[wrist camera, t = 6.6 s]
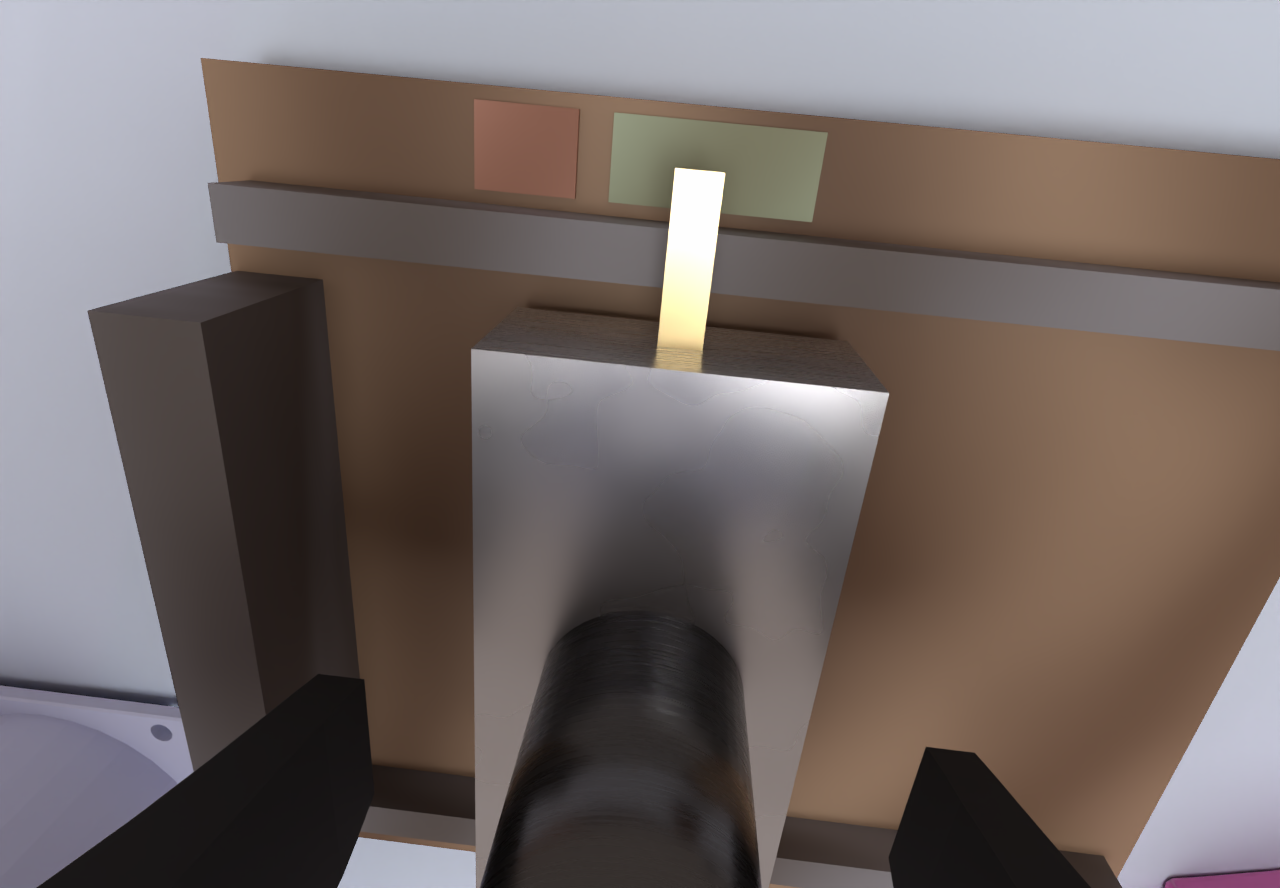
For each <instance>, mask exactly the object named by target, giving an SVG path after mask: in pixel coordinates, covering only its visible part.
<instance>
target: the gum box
mask: <svg viewBox="0 0 1280 888" xmlns="http://www.w3.org/2000/svg"><path fill="white" fill-rule="evenodd" d="M1165 888H1280V869H1279V870H1271V871H1263V872H1251V873H1238V874H1226V875H1213V876H1201V877H1186V878H1172V879H1170V880H1168V881H1167V882H1166V885H1165Z"/></svg>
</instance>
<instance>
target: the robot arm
mask: <svg viewBox="0 0 1280 888" xmlns="http://www.w3.org/2000/svg"><path fill="white" fill-rule="evenodd" d="M373 796H374V782H373V771H372V759H371V748H370V737H369V726H368V715H367V703H366V692H365V681H364V679H357V678H349V677H341V676H332V675H324V674H317V675H316V676H315V677H314V678H312V679H311V680H310V681H308V682H307V683H306V684H304V685H303V686H302V687H301V688H299V689H298V690H297V691H295V692H294V693H293V694H291V695H290V696H289V697H288V698H286V699H285V700H284V701H283V702H281V703H280V704H279V705H278V706H276V707H275V708H274V709H273V710H271V711H270V712H269V713H268V714H266V715H265V716H264V717H263V718H261V719H260V720H259V721H258V722H256V723H255V724H254V725H253V726H251V727H250V728H249V729H248V730H246V731H245V732H244V733H242V734H241V735H240V736H239V737H237V738H236V739H235V740H234V741H232V742H231V743H230V744H229V745H227V746H226V747H225V748H224V749H222V750H221V751H220V752H218V753H217V754H216V755H215V756H213V757H212V758H211V759H210V760H208V761H207V762H206V763H204V764H203V765H202V766H201V767H199V768H198V769H197V770H195V771H193V767H192V762H191V758H190V753H189V749H188V745H187V740H186V736H185V732H184V727H183V723H182V719H181V714H180V710H179V707H172V706H163V705H155V704H147V703H139V702H131V701H123V700H115V699H107V698H99V697H90V696H82V695H74V694H66V693H58V692H50V691H42V690H34V689H25V688H17V687H9V686H1V685H0V888H337V887H338V885H339V883H340V881H341V879H342V876H343V874H344V871H345V869H346V866H347V864H348V861H349V859H350V856H351V854H352V851H353V849H354V846H355V844H356V841H357V839H358V836H359V834H360V831H361V828H362V826H363V823H364V820H365V817H366V815H367V812H368V809H369V807H370V804H371V801H372V799H373ZM888 858H889V864H890V870H891V876H892V883H893V888H1091V887H1090V886H1089V885H1088V883H1087V882H1086V881H1085V880H1084V879H1083V878H1082V877H1081V875H1080V874H1079V873H1078V872H1077V871H1076V870H1075V869H1074V867H1073V866H1072V865H1071V864H1070V863H1069V862H1068V860H1067V859H1066V858H1065V857H1064V856H1063V855H1062V853H1061V852H1060V851H1059V850H1058V849H1057V848H1056V846H1055V845H1054V844H1053V843H1052V842H1051V841H1050V839H1049V838H1048V837H1047V836H1046V835H1045V834H1044V833H1043V831H1042V830H1041V829H1040V828H1039V827H1038V826H1037V824H1036V823H1035V822H1034V821H1033V820H1032V818H1031V817H1030V816H1029V815H1028V814H1027V813H1026V811H1025V810H1024V809H1023V808H1022V807H1021V806H1020V804H1019V803H1018V802H1017V801H1016V800H1015V798H1014V797H1013V796H1012V795H1011V794H1010V793H1009V791H1008V790H1007V789H1006V788H1005V787H1004V786H1003V784H1002V783H1001V782H1000V781H999V780H998V779H997V777H996V776H995V775H994V774H993V773H992V772H991V770H990V769H989V768H988V767H987V766H986V765H985V764H984V762H983V761H982V760H981V759H980V758H979V757H978V756H977V755H976V753H974V752H965V751H957V750H949V749H940V748H932V747H926V748H925V751H924V754H923V757H922V760H921V763H920V766H919V768H918V771H917V774H916V777H915V780H914V783H913V786H912V789H911V792H910V795H909V798H908V801H907V804H906V807H905V810H904V813H903V816H902V819H901V822H900V825H899V828H898V831H897V834H896V837H895V839H894V842H893V845H892V848H891V851H890V854H889V857H888Z"/></svg>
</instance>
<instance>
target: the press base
mask: <svg viewBox="0 0 1280 888" xmlns="http://www.w3.org/2000/svg"><path fill="white" fill-rule="evenodd" d="M201 63H202V70H203V77H204V84H205V91H206V98H207V105H208V112H209V118H210V125H211V132H212V139H213V146H214V153H215V160H216V167H217V174H218V181H219V182H218V183H208V188H209V195H210V202H211V208H212V215H213V222H214V228H215V235H216V242H218V243H227V244H228V250H229V257H230V264H231V271H232V272H230V273H227V274H223V275H219V276H215V277H212V278H208V279H204V280H201V281H197V282H193V283H189V284H186V285H182V286H178V287H174V288H171V289H167V290H163V291H159V292H156V293H152V294H148V295H145V296H141V297H137V298H133V299H130V300H126V301H122V302H118V303H115V304H111V305H107V306H103V307H100V308H96V309H92V310H89V311H88V315H89V319H90V324H91V328H92V332H93V337H94V341H95V345H96V350H97V354H98V358H99V363H100V367H101V371H102V376H103V380H104V384H105V389H106V393H107V397H108V402H109V406H110V410H111V415H112V419H113V423H114V428H115V432H116V436H117V441H118V445H119V449H120V454H121V458H122V462H123V467H124V471H125V476H126V480H127V484H128V489H129V493H130V497H131V502H132V506H133V510H134V515H135V519H136V523H137V528H138V532H139V536H140V541H141V545H142V549H143V554H144V558H145V562H146V567H147V571H148V575H149V580H150V584H151V588H152V593H153V597H154V601H155V606H156V610H157V614H158V619H159V623H160V628H161V632H162V636H163V641H164V645H165V649H166V654H167V658H168V662H169V667H170V671H171V675H172V680H173V684H174V688H175V693H176V697H177V701H178V706H179V710H180V714H181V719H182V723H183V727H184V732H185V736H186V740H187V745H188V749H189V753H190V758H191V762H192V767H193V771H195V770H197V769H198V768H199V767H201V766H202V765H203V764H204V763H206V762H207V761H208V760H210V759H211V758H212V757H213V756H215V755H216V754H217V753H218V752H220V751H221V750H222V749H224V748H225V747H226V746H227V745H229V744H230V743H231V742H232V741H234V740H235V739H236V738H237V737H239V736H240V735H241V734H242V733H244V732H245V731H246V730H248V729H249V728H250V727H251V726H253V725H254V724H255V723H256V722H258V721H259V720H260V719H261V718H263V717H264V716H265V715H266V714H268V713H269V712H270V711H271V710H273V709H274V708H275V707H276V706H278V705H279V704H280V703H281V702H283V701H284V700H285V699H286V698H288V697H289V696H290V695H291V694H293V693H294V692H295V691H297V690H298V689H299V688H301V687H302V686H303V685H304V684H306V683H307V682H308V681H310V680H311V679H312V678H314V677H315V676H316V675H317V674H324V675H332V676H341V677H349V678H357V679H364V681H365V692H366V703H367V715H368V726H369V737H370V748H371V759H372V771H373V782H374V796H373V799H372V801H371V804H370V807H369V809H368V812H367V815H366V817H365V820H364V823H363V826H362V828H361V831H360V834H359V836H358V837H363V838H371V839H379V840H386V841H394V842H402V843H410V844H418V845H426V846H433V847H441V848H449V849H457V850H465V851H472V852H476V825H475V715H474V605H473V495H472V385H471V349H472V348H473V347H474V346H475V345H476V344H477V343H478V342H479V341H480V340H482V339H483V338H484V337H485V336H486V335H487V334H488V333H489V332H490V331H492V330H493V329H494V328H495V327H496V326H497V325H498V324H499V323H500V322H502V321H503V320H504V319H505V318H506V317H507V316H508V315H509V314H510V313H511V312H513V311H514V310H515V309H516V308H517V307H523V308H533V309H542V310H552V311H561V312H571V313H581V314H590V315H600V316H610V317H619V318H629V319H639V320H648V321H658V322H660V314H661V304H662V294H663V284H664V275H665V265H666V255H667V245H668V235H669V225H670V215H671V205H672V195H673V185H674V175H675V168H676V167H679V168H689V169H699V170H710V171H720V172H725V178H724V186H723V194H722V202H721V209H720V217H719V225H718V233H717V241H716V249H715V256H714V264H713V272H712V280H711V288H710V296H709V303H708V311H707V319H706V327H716V328H725V329H735V330H745V331H754V332H764V333H774V334H783V335H793V336H803V337H812V338H822V339H832V340H841V341H848V342H849V343H850V345H851V346H852V347H853V348H854V350H855V351H856V352H857V353H858V355H859V356H860V357H861V358H862V360H863V361H864V362H865V363H866V365H867V366H868V367H869V368H870V370H871V371H872V372H873V373H874V375H875V376H876V377H877V378H878V380H879V381H880V382H881V383H882V385H883V386H884V387H885V388H886V389H887V391H888V392H889V397H888V401H887V405H886V409H885V413H884V417H883V421H882V425H881V429H880V433H879V438H878V442H877V446H876V450H875V454H874V458H873V462H872V466H871V470H870V474H869V479H868V483H867V487H866V491H865V495H864V499H863V503H862V507H861V511H860V515H859V520H858V524H857V528H856V532H855V536H854V540H853V544H852V548H851V552H850V556H849V561H848V565H847V569H846V573H845V577H844V581H843V585H842V589H841V593H840V597H839V601H838V606H837V610H836V614H835V618H834V622H833V626H832V630H831V634H830V638H829V642H828V647H827V651H826V655H825V659H824V663H823V667H822V671H821V675H820V679H819V683H818V688H817V692H816V696H815V700H814V704H813V708H812V712H811V716H810V720H809V724H808V729H807V733H806V737H805V741H804V745H803V749H802V753H801V757H800V761H799V765H798V770H797V774H796V778H795V782H794V786H793V790H792V794H791V798H790V802H789V806H788V810H787V815H786V819H785V823H784V827H783V831H782V835H781V839H780V843H779V847H778V851H777V856H776V860H775V864H774V868H773V872H772V876H771V880H770V884H769V888H893V883H892V876H891V870H890V864H889V858H888V857H889V854H890V851H891V848H892V845H893V842H894V839H895V837H896V834H897V831H898V828H899V825H900V822H901V819H902V816H903V813H904V810H905V807H906V804H907V801H908V798H909V795H910V792H911V789H912V786H913V783H914V780H915V777H916V774H917V771H918V768H919V766H920V763H921V760H922V757H923V754H924V751H925V748H926V747H932V748H940V749H949V750H957V751H965V752H974V753H976V755H977V756H978V757H979V758H980V759H981V760H982V761H983V762H984V764H985V765H986V766H987V767H988V768H989V769H990V770H991V772H992V773H993V774H994V775H995V776H996V777H997V779H998V780H999V781H1000V782H1001V783H1002V784H1003V786H1004V787H1005V788H1006V789H1007V790H1008V791H1009V793H1010V794H1011V795H1012V796H1013V797H1014V798H1015V800H1016V801H1017V802H1018V803H1019V804H1020V806H1021V807H1022V808H1023V809H1024V810H1025V811H1026V813H1027V814H1028V815H1029V816H1030V817H1031V818H1032V820H1033V821H1034V822H1035V823H1036V824H1037V826H1038V827H1039V828H1040V829H1041V830H1042V831H1043V833H1044V834H1045V835H1046V836H1047V837H1048V838H1049V839H1050V841H1051V842H1052V843H1053V844H1054V845H1055V846H1056V848H1057V849H1058V850H1059V851H1060V852H1061V853H1062V855H1063V856H1064V857H1065V858H1066V859H1067V860H1068V862H1069V863H1070V864H1071V865H1072V866H1073V867H1074V869H1075V870H1076V871H1077V872H1078V873H1079V874H1080V875H1081V877H1082V878H1083V879H1084V880H1085V881H1086V882H1087V883H1088V885H1089V886H1090V887H1091V888H1122V887H1121V885H1120V883H1119V881H1118V880H1117V877H1118V875H1119V873H1120V871H1121V870H1122V868H1123V866H1124V864H1125V862H1126V860H1127V859H1128V857H1129V855H1130V853H1131V851H1132V849H1133V847H1134V846H1135V844H1136V842H1137V840H1138V838H1139V836H1140V834H1141V833H1142V831H1143V829H1144V827H1145V825H1146V823H1147V822H1148V820H1149V818H1150V816H1151V814H1152V812H1153V810H1154V809H1155V807H1156V805H1157V803H1158V801H1159V799H1160V798H1161V796H1162V794H1163V792H1164V790H1165V788H1166V786H1167V785H1168V783H1169V781H1170V779H1171V777H1172V775H1173V773H1174V772H1175V770H1176V768H1177V766H1178V764H1179V762H1180V761H1181V759H1182V757H1183V755H1184V753H1185V751H1186V749H1187V748H1188V746H1189V744H1190V742H1191V740H1192V738H1193V736H1194V735H1195V733H1196V731H1197V729H1198V727H1199V725H1200V724H1201V722H1202V720H1203V718H1204V716H1205V714H1206V712H1207V711H1208V709H1209V707H1210V705H1211V703H1212V701H1213V700H1214V698H1215V696H1216V694H1217V692H1218V690H1219V688H1220V687H1221V685H1222V683H1223V681H1224V679H1225V677H1226V675H1227V674H1228V672H1229V670H1230V668H1231V666H1232V664H1233V663H1234V661H1235V659H1236V657H1237V655H1238V653H1239V651H1240V650H1241V648H1242V646H1243V644H1244V642H1245V640H1246V638H1247V637H1248V635H1249V633H1250V631H1251V629H1252V627H1253V626H1254V624H1255V622H1256V620H1257V618H1258V616H1259V614H1260V613H1261V611H1262V609H1263V607H1264V605H1265V603H1266V602H1267V600H1268V598H1269V596H1270V594H1271V592H1272V590H1273V589H1274V587H1275V585H1276V583H1277V581H1278V579H1279V577H1280V159H1270V158H1259V157H1249V156H1238V155H1227V154H1217V153H1206V152H1195V151H1185V150H1174V149H1164V148H1153V147H1142V146H1132V145H1121V144H1110V143H1100V142H1089V141H1078V140H1068V139H1057V138H1046V137H1036V136H1025V135H1015V134H1004V133H993V132H983V131H972V130H961V129H951V128H940V127H929V126H919V125H908V124H897V123H887V122H876V121H866V120H855V119H844V118H834V117H823V116H812V115H802V114H791V113H780V112H770V111H759V110H748V109H738V108H727V107H717V106H706V105H695V104H685V103H674V102H663V101H653V100H642V99H631V98H621V97H610V96H600V95H589V94H578V93H568V92H557V91H546V90H536V89H525V88H514V87H504V86H493V85H482V84H472V83H461V82H451V81H440V80H429V79H419V78H408V77H397V76H387V75H376V74H365V73H355V72H344V71H333V70H323V69H312V68H302V67H291V66H280V65H270V64H259V63H248V62H238V61H227V60H216V59H206V58H201Z"/></svg>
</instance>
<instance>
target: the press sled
mask: <svg viewBox="0 0 1280 888" xmlns="http://www.w3.org/2000/svg"><path fill="white" fill-rule="evenodd" d="M724 178H725V172H720V171H710V170H699V169H689V168H679V167H676V168H675V175H674V185H673V195H672V205H671V215H670V225H669V235H668V245H667V255H666V265H665V275H664V284H663V294H662V304H661V314H660V322H658V321H648V320H639V319H629V318H619V317H610V316H600V315H590V314H581V313H571V312H561V311H552V310H542V309H533V308H523V307H517V308H516V309H515V310H514V311H513V312H511V313H510V314H509V315H508V316H507V317H506V318H505V319H504V320H503V321H502V322H500V323H499V324H498V325H497V326H496V327H495V328H494V329H493V330H492V331H490V332H489V333H488V334H487V335H486V336H485V337H484V338H483V339H482V340H480V341H479V342H478V343H477V344H476V345H475V346H474V347H473V348H472V349H471V385H472V495H473V605H474V715H475V825H476V888H769V884H770V880H771V876H772V872H773V868H774V864H775V860H776V856H777V851H778V847H779V843H780V839H781V835H782V831H783V827H784V823H785V819H786V815H787V810H788V806H789V802H790V798H791V794H792V790H793V786H794V782H795V778H796V774H797V770H798V765H799V761H800V757H801V753H802V749H803V745H804V741H805V737H806V733H807V729H808V724H809V720H810V716H811V712H812V708H813V704H814V700H815V696H816V692H817V688H818V683H819V679H820V675H821V671H822V667H823V663H824V659H825V655H826V651H827V647H828V642H829V638H830V634H831V630H832V626H833V622H834V618H835V614H836V610H837V606H838V601H839V597H840V593H841V589H842V585H843V581H844V577H845V573H846V569H847V565H848V561H849V556H850V552H851V548H852V544H853V540H854V536H855V532H856V528H857V524H858V520H859V515H860V511H861V507H862V503H863V499H864V495H865V491H866V487H867V483H868V479H869V474H870V470H871V466H872V462H873V458H874V454H875V450H876V446H877V442H878V438H879V433H880V429H881V425H882V421H883V417H884V413H885V409H886V405H887V401H888V397H889V392H888V391H887V389H886V388H885V387H884V386H883V385H882V383H881V382H880V381H879V380H878V378H877V377H876V376H875V375H874V373H873V372H872V371H871V370H870V368H869V367H868V366H867V365H866V363H865V362H864V361H863V360H862V358H861V357H860V356H859V355H858V353H857V352H856V351H855V350H854V348H853V347H852V346H851V345H850V343H849V342H848V341H841V340H832V339H822V338H812V337H803V336H793V335H783V334H774V333H764V332H754V331H745V330H735V329H725V328H716V327H706V319H707V311H708V303H709V296H710V288H711V280H712V272H713V264H714V256H715V249H716V241H717V233H718V225H719V217H720V209H721V202H722V194H723V186H724Z"/></svg>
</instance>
